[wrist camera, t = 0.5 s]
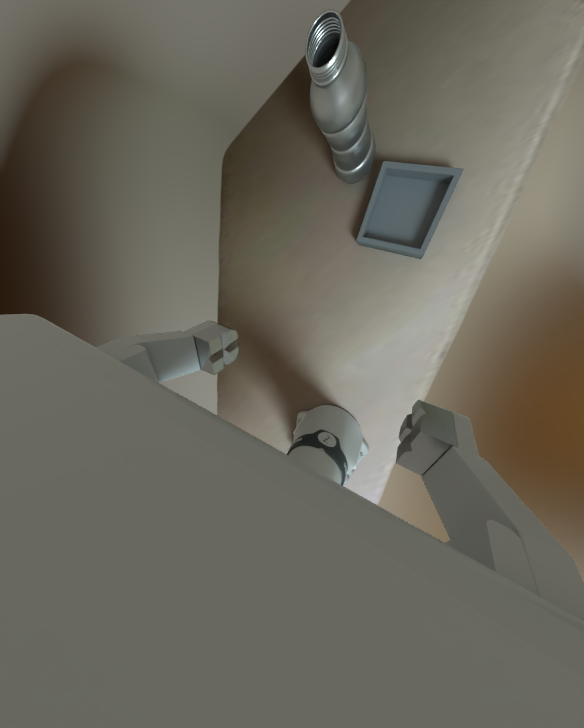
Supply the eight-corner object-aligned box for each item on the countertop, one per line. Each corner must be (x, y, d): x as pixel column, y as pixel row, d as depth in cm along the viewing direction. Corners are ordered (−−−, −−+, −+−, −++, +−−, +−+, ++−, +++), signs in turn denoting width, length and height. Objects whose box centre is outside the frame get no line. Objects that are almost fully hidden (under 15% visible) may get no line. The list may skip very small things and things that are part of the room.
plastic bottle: (333, 187, 39) (284, 95, 21) (344, 139, 36) (299, -10, 19) (368, 189, 36) (346, 90, 19) (382, 138, 34) (372, -29, 17)
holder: (421, 258, 36) (423, 255, 33) (358, 244, 39) (356, 240, 37) (457, 179, 32) (463, 168, 29) (384, 171, 35) (383, 160, 32)
